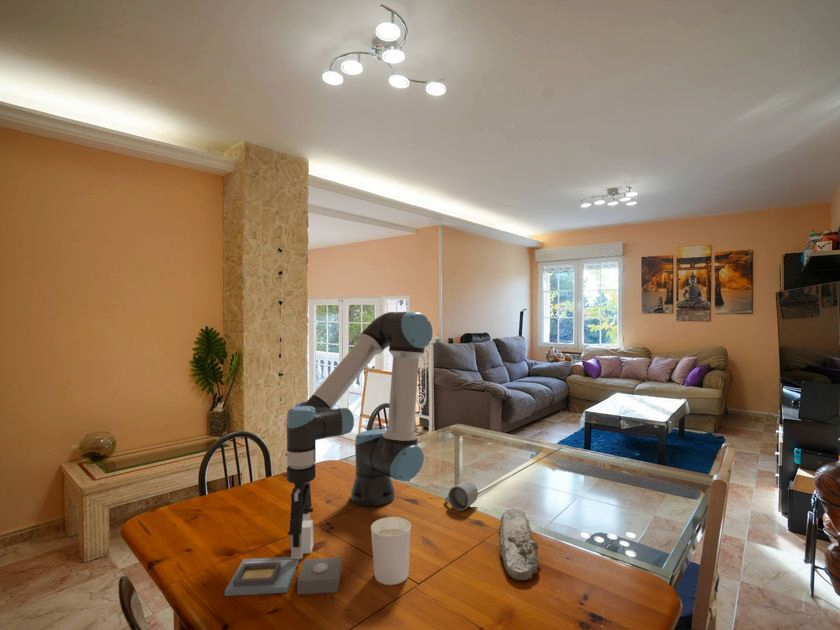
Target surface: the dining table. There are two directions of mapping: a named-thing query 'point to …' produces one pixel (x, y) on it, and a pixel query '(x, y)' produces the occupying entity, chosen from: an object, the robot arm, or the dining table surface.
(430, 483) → the dining table surface
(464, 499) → the ceramic mug
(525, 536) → the long grey stone
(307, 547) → the plug
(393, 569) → the candle holder
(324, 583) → the grey push button box
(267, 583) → the board
